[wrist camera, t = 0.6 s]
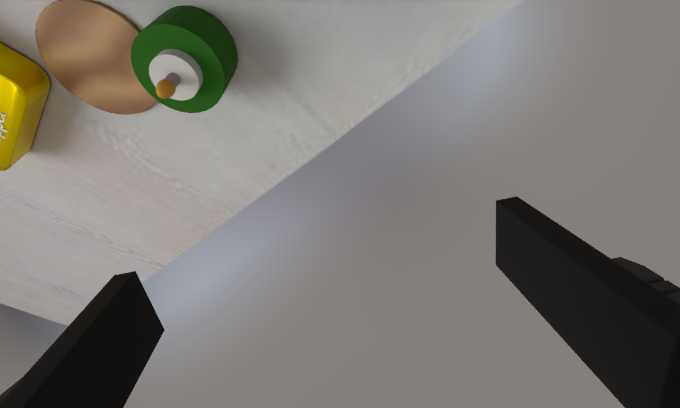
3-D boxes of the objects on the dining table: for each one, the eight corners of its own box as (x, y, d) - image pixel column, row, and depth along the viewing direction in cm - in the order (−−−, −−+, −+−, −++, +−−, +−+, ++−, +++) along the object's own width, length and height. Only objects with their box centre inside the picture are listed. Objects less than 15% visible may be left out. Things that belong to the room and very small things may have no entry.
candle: (219, -2, 33) (184, 35, 25) (248, 82, 38) (226, 131, 31) (138, 13, 34) (82, 52, 26) (178, 93, 39) (141, 142, 32)
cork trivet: (17, 49, 36) (14, 51, 36) (73, -33, 31) (70, -32, 31) (126, 130, 43) (124, 132, 42) (186, 73, 38) (184, 75, 37)
